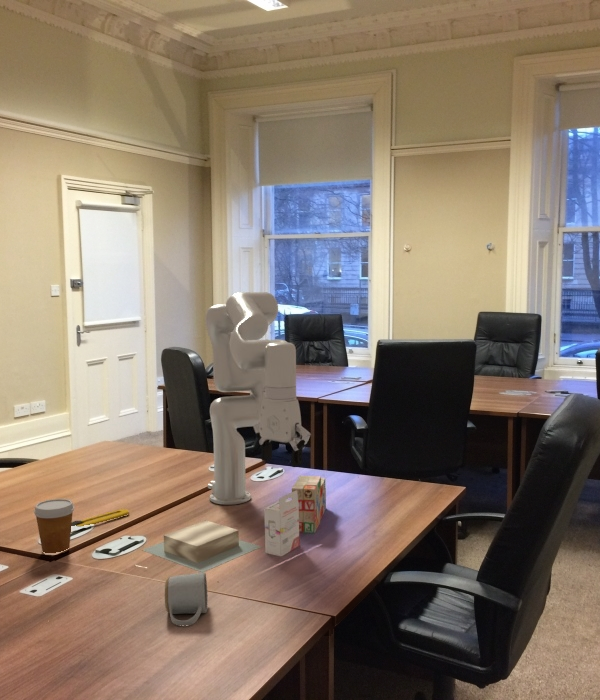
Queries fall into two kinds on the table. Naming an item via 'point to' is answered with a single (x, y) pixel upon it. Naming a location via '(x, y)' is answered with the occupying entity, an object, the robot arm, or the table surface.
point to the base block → (201, 541)
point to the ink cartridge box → (282, 525)
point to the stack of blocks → (310, 502)
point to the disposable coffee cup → (54, 524)
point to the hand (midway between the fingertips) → (281, 462)
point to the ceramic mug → (186, 596)
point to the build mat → (208, 563)
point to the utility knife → (101, 517)
